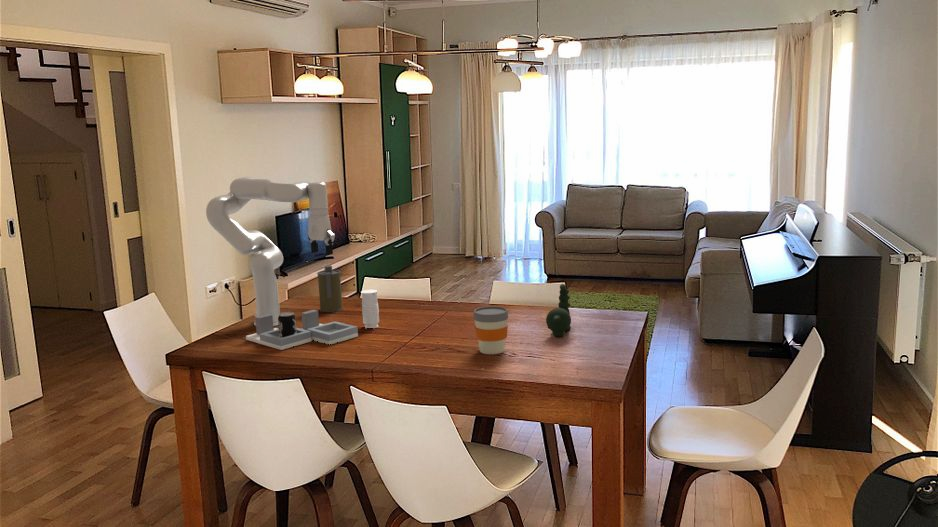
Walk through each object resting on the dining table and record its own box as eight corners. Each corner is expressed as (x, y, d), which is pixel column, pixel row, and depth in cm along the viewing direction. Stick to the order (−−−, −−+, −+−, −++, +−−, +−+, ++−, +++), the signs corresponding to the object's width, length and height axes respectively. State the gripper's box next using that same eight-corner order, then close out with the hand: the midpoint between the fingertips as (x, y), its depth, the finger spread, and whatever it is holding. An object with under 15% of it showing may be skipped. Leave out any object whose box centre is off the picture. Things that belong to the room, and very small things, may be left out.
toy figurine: (553, 328, 311) (543, 340, 287) (552, 282, 309) (542, 290, 285) (576, 329, 308) (568, 341, 284) (576, 282, 306) (568, 290, 282)
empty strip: (292, 334, 309) (290, 314, 307) (320, 327, 319) (319, 307, 317) (329, 344, 293) (328, 323, 291) (358, 336, 303) (356, 315, 302)
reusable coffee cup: (475, 345, 285) (473, 306, 283) (508, 344, 285) (507, 305, 282) (474, 356, 273) (472, 315, 270) (509, 355, 273) (508, 314, 270)
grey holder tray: (246, 339, 305) (244, 318, 303) (276, 331, 315) (274, 311, 313) (281, 350, 289) (279, 328, 287) (311, 341, 299) (310, 320, 297)
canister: (320, 307, 354) (317, 264, 350) (343, 305, 355) (340, 263, 351) (318, 313, 343) (315, 269, 339) (342, 311, 344) (339, 268, 340)
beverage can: (292, 346, 294) (290, 316, 291) (277, 346, 295) (274, 315, 293) (300, 341, 300) (297, 311, 298) (284, 341, 301) (282, 311, 299)
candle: (369, 330, 312) (366, 294, 310) (359, 326, 318) (357, 291, 315) (383, 326, 317) (381, 291, 314) (373, 323, 322) (371, 288, 319)
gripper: (298, 212, 318) (302, 253, 321) (324, 214, 307) (327, 256, 310) (313, 210, 324) (316, 250, 327) (339, 212, 312) (342, 254, 315)
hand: (322, 253), depth 318 cm, fingers open, 9 cm apart
